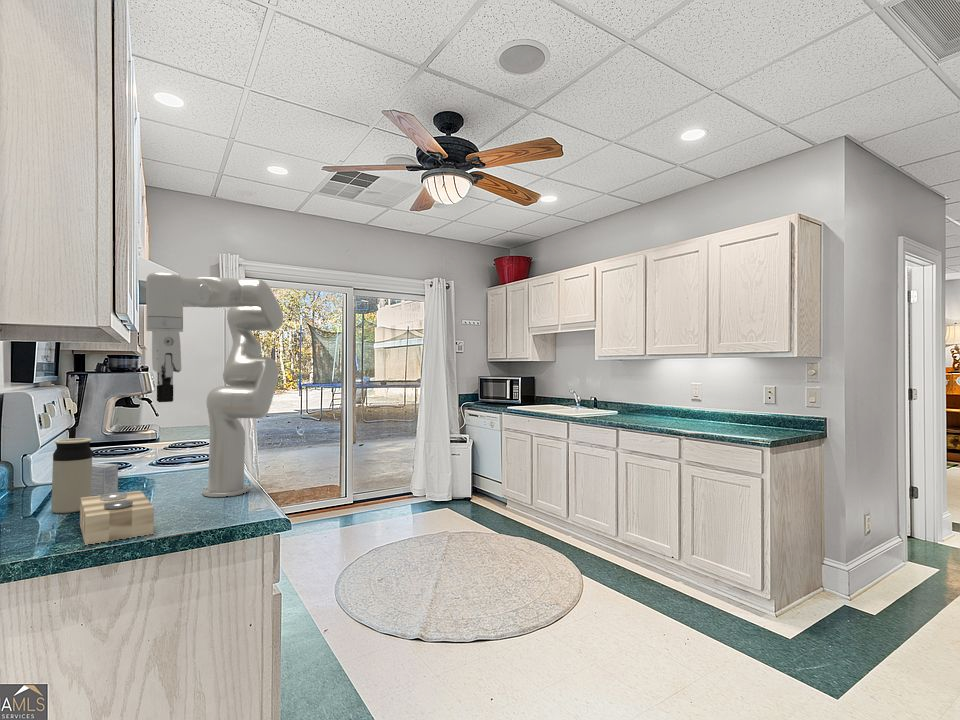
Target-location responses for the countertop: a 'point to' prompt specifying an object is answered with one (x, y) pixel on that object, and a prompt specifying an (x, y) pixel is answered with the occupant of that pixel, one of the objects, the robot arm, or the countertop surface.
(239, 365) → the robot arm
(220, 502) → the countertop surface
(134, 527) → the oak block
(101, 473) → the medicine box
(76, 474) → the travel mug
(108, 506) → the grey piece
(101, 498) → the steel peg
